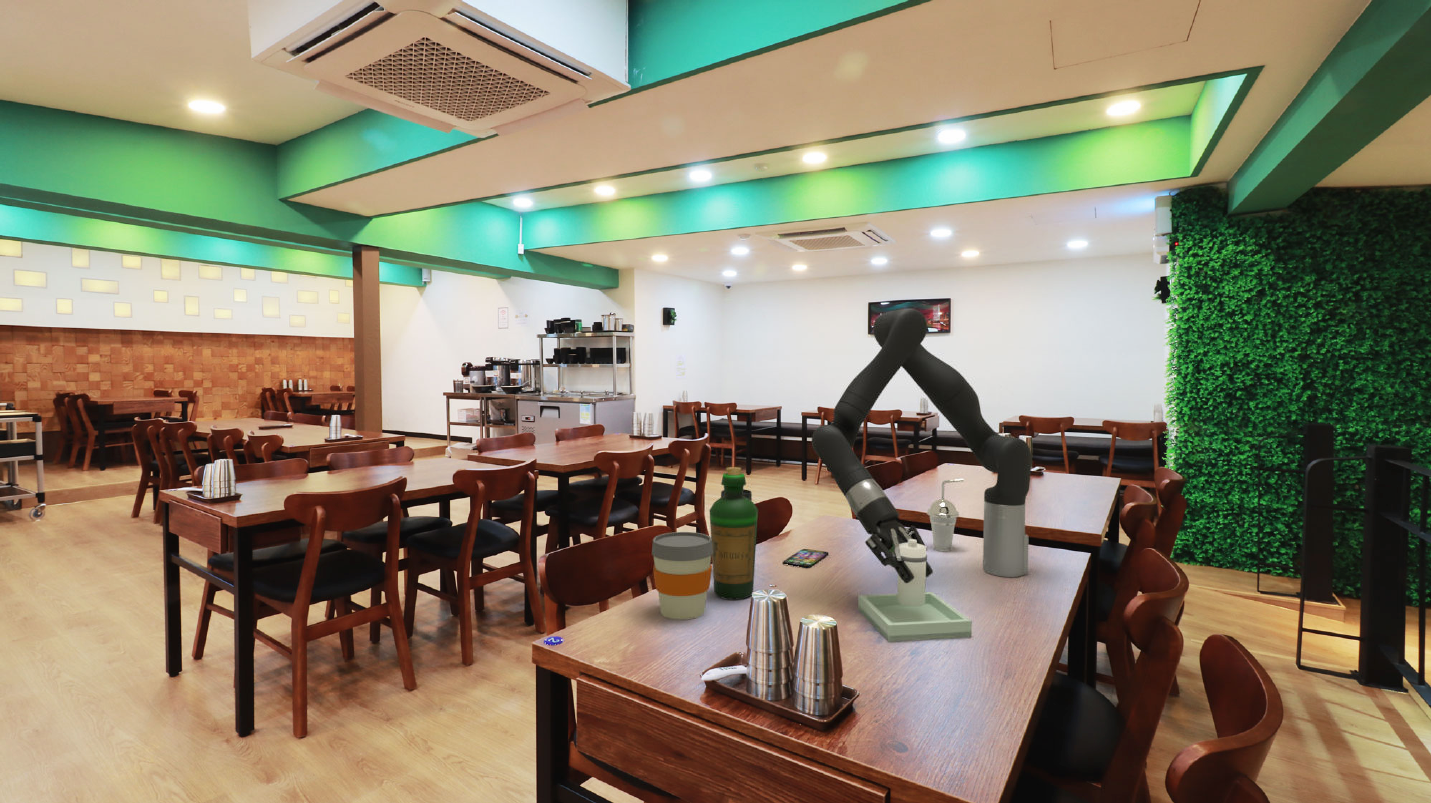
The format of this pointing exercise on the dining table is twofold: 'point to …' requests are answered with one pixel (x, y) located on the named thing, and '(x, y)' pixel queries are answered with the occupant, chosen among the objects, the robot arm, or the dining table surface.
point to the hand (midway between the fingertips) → (919, 577)
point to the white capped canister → (916, 563)
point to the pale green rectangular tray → (914, 618)
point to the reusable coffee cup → (682, 573)
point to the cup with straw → (943, 521)
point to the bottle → (733, 538)
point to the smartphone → (806, 558)
